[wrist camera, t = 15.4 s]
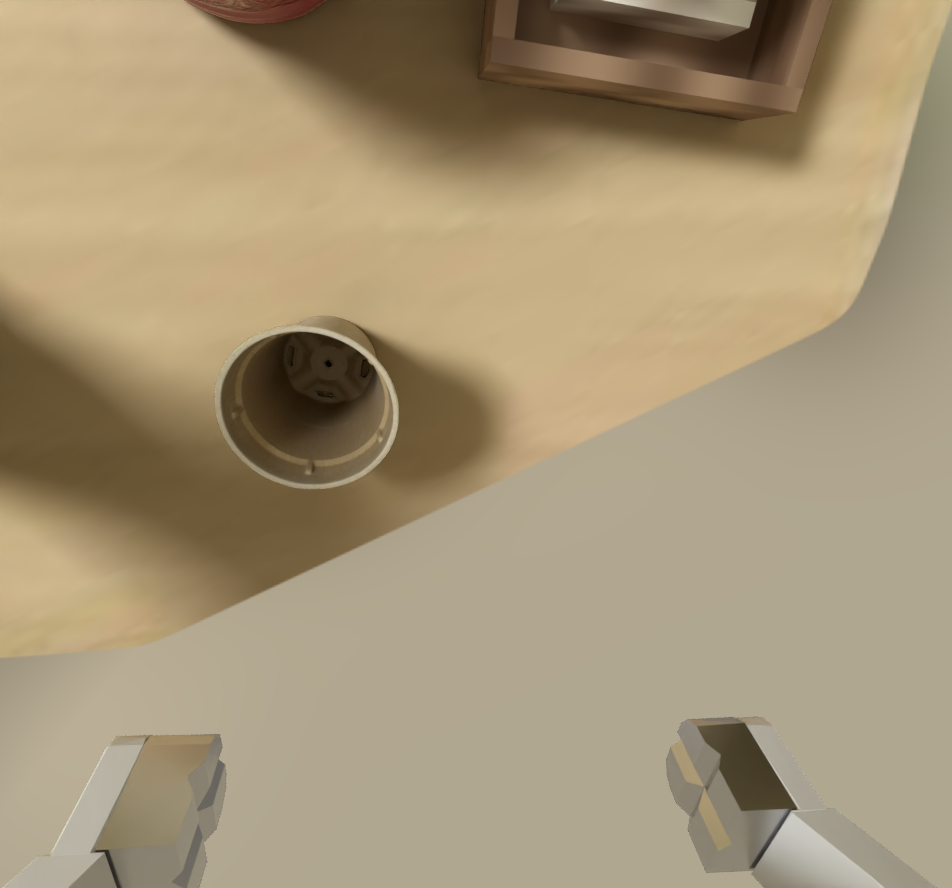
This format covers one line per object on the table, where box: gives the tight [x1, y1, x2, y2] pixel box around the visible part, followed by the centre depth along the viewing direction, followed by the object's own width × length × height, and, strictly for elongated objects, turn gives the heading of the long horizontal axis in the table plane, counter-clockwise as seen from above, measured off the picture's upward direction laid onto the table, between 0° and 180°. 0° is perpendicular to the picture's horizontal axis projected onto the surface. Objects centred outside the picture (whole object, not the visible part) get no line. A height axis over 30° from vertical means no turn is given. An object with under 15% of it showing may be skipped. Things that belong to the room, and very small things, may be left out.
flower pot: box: [214, 316, 399, 490], centre depth 32 cm, size 9×9×9 cm
